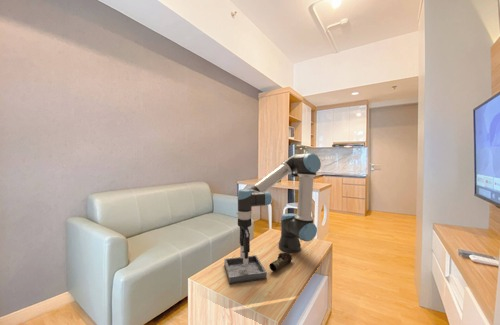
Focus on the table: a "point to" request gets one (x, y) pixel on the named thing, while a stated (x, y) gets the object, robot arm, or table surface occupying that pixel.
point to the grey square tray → (244, 270)
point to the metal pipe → (280, 261)
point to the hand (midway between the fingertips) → (244, 260)
